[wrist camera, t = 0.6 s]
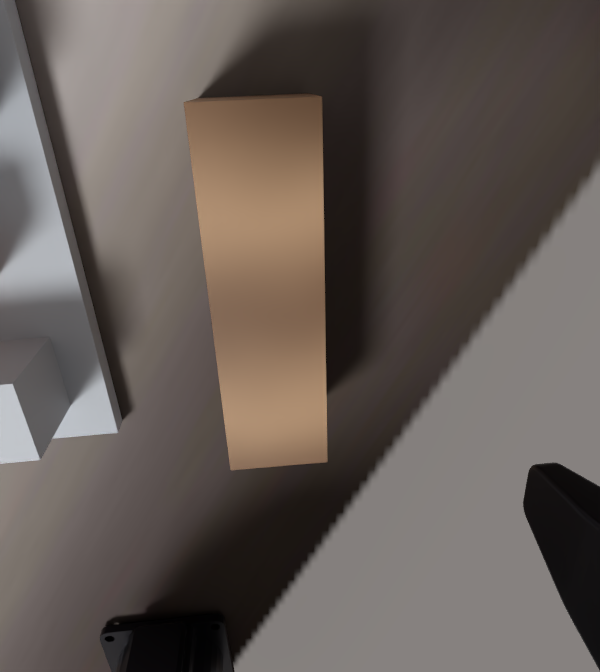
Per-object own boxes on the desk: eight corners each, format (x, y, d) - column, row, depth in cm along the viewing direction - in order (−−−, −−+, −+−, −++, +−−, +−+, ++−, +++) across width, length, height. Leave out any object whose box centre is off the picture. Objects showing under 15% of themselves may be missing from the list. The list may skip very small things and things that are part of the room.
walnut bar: (315, 400, 22) (327, 462, 18) (234, 406, 22) (230, 470, 18) (307, 93, 16) (321, 96, 13) (199, 97, 16) (183, 102, 13)
